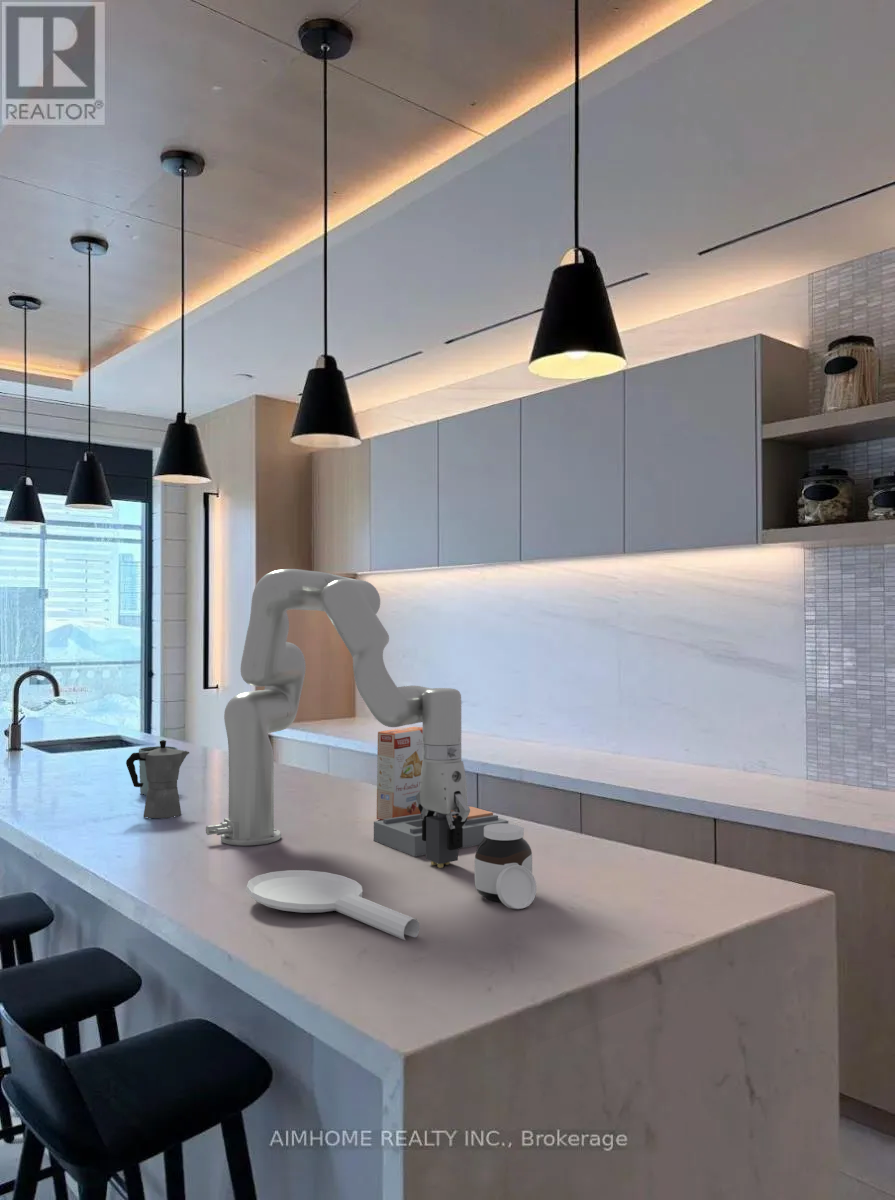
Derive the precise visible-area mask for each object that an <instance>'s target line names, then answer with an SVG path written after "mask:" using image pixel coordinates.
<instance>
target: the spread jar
mask: <svg viewBox="0 0 895 1200" xmlns="http://www.w3.org/2000/svg"><path fill="white" fill-rule="evenodd" d="M524 833H525V831H524V827H523V826H522V825H519V824H514V823H509V822H508V823H497V824H490V825H486V826H485V827H484V837H485V838H484V839H483V840H482V841H481V843H480V844H479V845H477V848H476V851H475V855H474V886H475V889H476V891H477V893H478V894H479V895H480V896H481V897H482V898H483V899H485V900H487V901H490V902H493V903H500V904H501V903H502V904H503V905H504V906H506V908H508V909H513V910H520V909H521V910H522V909H524V908H527V907H529V906H530V905H531V904H532V903H533V902H534V900H535V897H536V894H537V882H536V878H535V876H534V875H533V852H532V847H531V846H530V844H529V843H528V841H526V839H525V838H524V835H525V834H524Z"/></svg>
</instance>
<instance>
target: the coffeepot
mask: <svg viewBox="0 0 895 1200" xmlns="http://www.w3.org/2000/svg"><path fill="white" fill-rule="evenodd" d="M166 745H167V740H165V739H164V740H160V741H159V746H161V748H158V749H155V750H151V751H148V752H141V753H139V751H138V752H132V753H131V754H130V755H129V756H128V758H127V759H126V762H125V764H126V767H127V770H128V773H129V776H130V779H131V781H132V785H133V787H135V788H140V787H142V786H143V783H140V781H138V780H139V776H138V774H137V772H136V765H135V764H134V762H136V761H139V760H140V761H145V767H146V775H147V781H148V791H147V795H146V798H145V805H144V811H143V817H144V818H145V817H148V818H147V819H149V818H166V819H171V818H170V817H173V818H175V817H174V816H177V817H179V816H181V814H182V810H181V809H182V808H181V803H180V796H179V790H178V789H179V788H178V780H179V774H180V768H181V767H182V764H183V762H184V761H185V759H186V757H187V756H188V755H189V754H190V752H189V751H188V750H181V749H178V750H176V749H170V748H165V746H166ZM178 815H179V816H178Z"/></svg>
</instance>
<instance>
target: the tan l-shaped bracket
mask: <svg viewBox="0 0 895 1200" xmlns="http://www.w3.org/2000/svg"><path fill="white" fill-rule="evenodd" d="M468 807H469V808H470V813H469V815H468V817H467V819H473V818H479V817H485V816H492V815H494V812H492V811H488V810H484V809H481V808H478V807H474V806H468ZM451 811H453V810H451ZM452 817H455V818H456V816H452Z"/></svg>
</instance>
